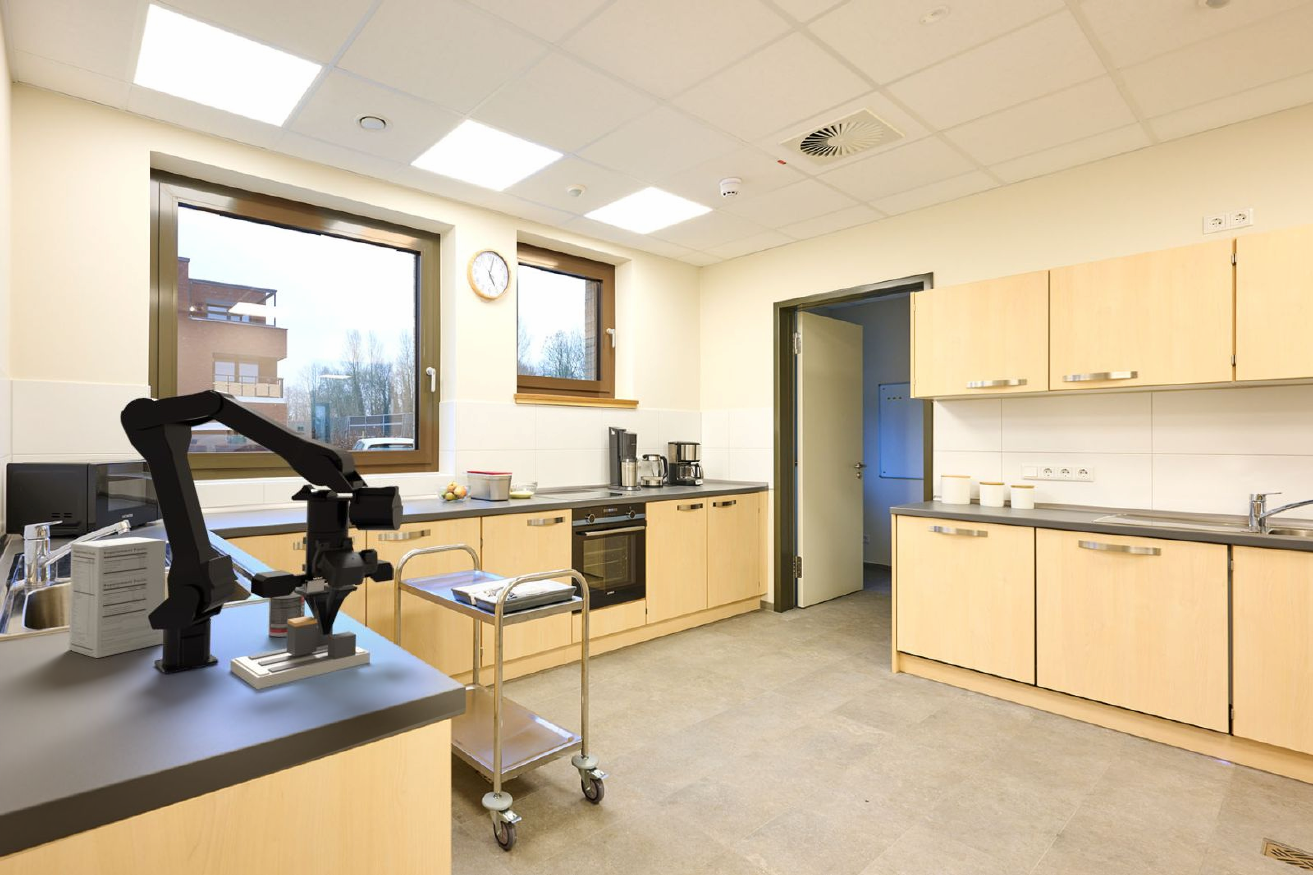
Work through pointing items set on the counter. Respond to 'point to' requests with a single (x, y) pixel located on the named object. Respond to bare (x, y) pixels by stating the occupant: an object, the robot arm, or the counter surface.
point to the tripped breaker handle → (301, 635)
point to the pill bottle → (284, 612)
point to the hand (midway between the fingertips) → (325, 634)
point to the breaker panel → (301, 661)
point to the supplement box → (115, 594)
